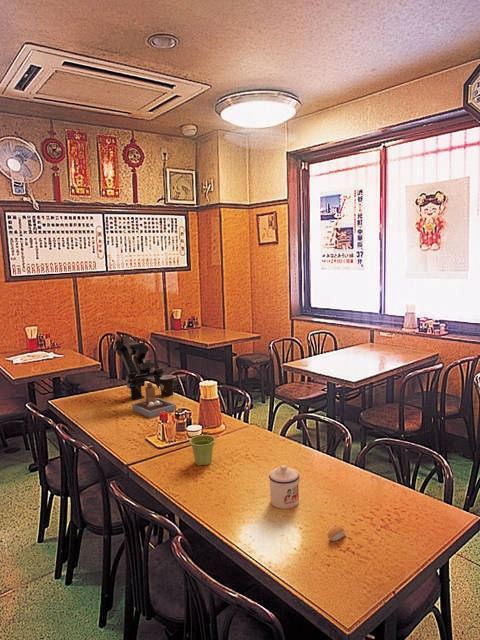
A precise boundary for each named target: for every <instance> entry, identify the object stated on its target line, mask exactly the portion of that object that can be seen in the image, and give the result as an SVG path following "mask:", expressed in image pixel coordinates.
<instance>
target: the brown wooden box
mask: <svg viewBox="0 0 480 640" xmlns="http://www.w3.org/2000/svg"><path fill="white" fill-rule="evenodd" d="M144 387H145V388H144V389H145V401H146V403H147V404H146V403H144V401H141V402H142V403H143V408H144V409H146V410H149V411H152V410H156V409H159V408H163V403H161V402H160V401H159V402H160V404H158V405H153V406H149V405H148V404H149V403H150V402H153V403H154V402H155V401H158V400H156V399H155V398H156V388H155V386H153V382H148V383H146V386H144Z"/></svg>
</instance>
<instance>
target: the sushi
mask: <svg viewBox="0 0 480 640" xmlns="http://www.w3.org/2000/svg"><path fill="white" fill-rule="evenodd" d="M345 531H346V529H344V528H343V526H342V525H335V526H333V527H331V528H330V529H329V531H328V533H327V538H328V539H329V540H330V541H332V542H337V541H339V540H340V539H342V538H343V537H344V536H345V533H346V532H345Z"/></svg>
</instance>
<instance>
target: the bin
mask: <svg viewBox="0 0 480 640" xmlns="http://www.w3.org/2000/svg"><path fill="white" fill-rule="evenodd" d="M155 399H156V400H158V401H160V402H161V403H163V408H159V409H156V410H152V411H149V410H146V409H144V408H143V403H142V402H144V403H146V400H145V401H140V402H136V403H133V404H131V408H132V411H133V412H135V413H136V414H140V415H142V416H144V417H146V418H149V419H151V418H155V417H158V415H159V413H160V412H163V411H165V412H169V413H172V412H171V411H173V412H175V411H174V410H176V411H177V404H175V403H172V402H170V401H168V400H165V399H162V398H159V397H155ZM146 404H147V403H146ZM159 416H160V415H159Z"/></svg>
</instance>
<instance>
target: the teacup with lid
mask: <svg viewBox="0 0 480 640" xmlns="http://www.w3.org/2000/svg"><path fill="white" fill-rule="evenodd" d="M268 478H269V489H270V492H269V493H270V503H271V505H272V506H273V507H275V508H277V509H281V510H282V509H283V510H286V509H287V510H288V509H289V510H290V509H292V508H295V507H296V506H298V504H299V502H300V495H299V493H300V492H299V483H300V479H301V478H300V473H298V471H297V470H295V469H294V468H291V467H287V465H285V464H282V465H280V467H277V468H275V469H272V470H271V471H270V472H269V475H268Z"/></svg>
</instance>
